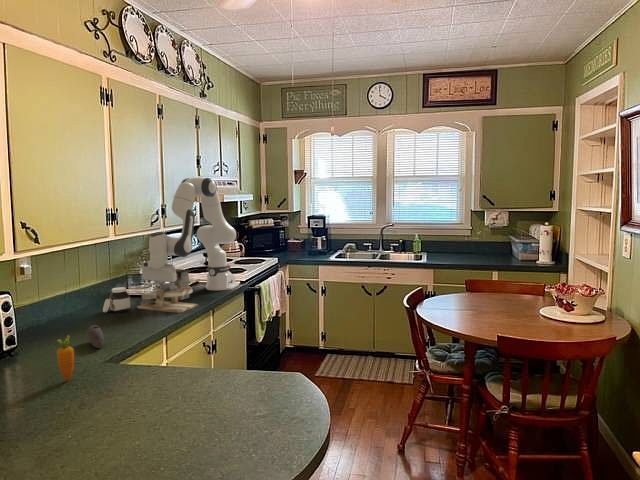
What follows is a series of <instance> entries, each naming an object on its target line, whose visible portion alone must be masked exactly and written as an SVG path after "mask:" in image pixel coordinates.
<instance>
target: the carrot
mask: <svg viewBox="0 0 640 480" xmlns="http://www.w3.org/2000/svg"><path fill="white" fill-rule="evenodd" d="M56 342H57V343H58V344H59V345H60V347H59V348H58V349H57V350H56V358H57V359H56V360H57V365H58V370H59V372H60V374H61V376H62V377H63V379H64V380H65V381H66V382H69V380H70V379H71V377H72V375H73V372H74V367H75V350H74V347H72V346H70V345H69V343H70V335H67V336H66V338H65V340H64V341H63V340H62V339H60V338H58V339H57V340H56ZM68 345H69V346H68Z"/></svg>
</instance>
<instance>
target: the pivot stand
mask: <svg viewBox="0 0 640 480" xmlns="http://www.w3.org/2000/svg"><path fill="white" fill-rule="evenodd" d="M175 288H176V289H177V286H175ZM155 291H156V302H153V303H145V304H144V303H143V304H141V305H137V306H136V307H137V309H140V310H148V311H157V312H165V313H166V312H167V313H168V312H169V313H177V314H180V313H184V312H185V311H189V310H191V309H194V308H196V307H198V306H199V305H198V303H190V302H181V301H179V299H178V296H175V297H171V298H170V300H165V299H164V298H165V297H164V296H163V290H160V289H157V290H155Z"/></svg>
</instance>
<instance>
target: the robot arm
mask: <svg viewBox="0 0 640 480" xmlns="http://www.w3.org/2000/svg"><path fill="white" fill-rule="evenodd" d="M217 186H218V185H217V183H216V181H215V180H214V178H211V177H201V176H199V177H188V178H184V179H183V180H182V181H181V183H180V184H179V185H178V186H177V189H176V191H175V193H174V196H173V199H172V202H171V210H172V212H173V214H174V215H175V216H177V217H179V218H180V219H181V220H182V228H181V229H182V230H181V235H180V236H179V237H174V236H170V235H167V234H166V233H165V232H163V231H157V232H156V231H155V232H152V233H151V234H150V235H149V238H148V239H149V240H148V251H149V260H147V261H144V262H142V263H141V265H142V270H141V274H142V275H141V277H142V279H143V280H144V281H153V282H154V284H155V286H156V289H157V290H161V286H160V285H161V284H165V283H170V282H175V281H176V280H177V276H176V271H175V269H176V267H175V265H174V264H172V263H170V264H169V263H168V262H169V260H168V256H177V257H182V258H186V257H188V256H189V255H190V254H191V252H192V250H193V235H194V228H195V222H196V217H195V216H196V215H195V212H194V209H193V208H194V203H195V200H196V198H200V204H201V210H202V214H203V215H202V216H203V218H204V219H205V220H206V221H207V222H209V223H210V224H211V225H207V224H206V225H202V226H199V227H198V228H197V231H196V238H197V239H198V241H199V242H200V243H201V244H202V245H203V247H204V248H205V250H206V253H207V262H208V263H207V264H208V266H207V275H206V285H205V289H206V290H208V291H225V290H226V291H228V290H233V289H234V288H236V287H238V286H240V285H239V284H240V282H237V283H236V280H237V279H236V276H235V274H233V273H232V272H231V271H230V269H231V265H230V264H228V263H227V261H228V260H227V259H228V258H227V252H226V251H225V250H224V249H222V247H220V244H224V245H225V244H231V243H232V244H233V242H234V241H235V240H236V238H237V231H236V229H235V228H234V227H232V226H231V224H229V223H228V222H227V220H226V218H225V217H224V213H223V210H222V206H221V205H222V204H221V201H220V200H221V199H220V195H219V193H218V188H217Z"/></svg>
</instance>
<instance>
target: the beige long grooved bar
mask: <svg viewBox="0 0 640 480" xmlns="http://www.w3.org/2000/svg"><path fill="white" fill-rule="evenodd" d="M156 291H157V290H152V291H149V292H145V293H144V292H143V293H142V295H141V300H142V302H143V304H146V303H153V302H156ZM192 293H194V290H193V288H192V287H191V286H190V285H189V286H186V287H182V288H181V289H176V291H165V292H163V296H164V298H170V297H175V296H184V295H187V294H189V295H190V294H192Z"/></svg>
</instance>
